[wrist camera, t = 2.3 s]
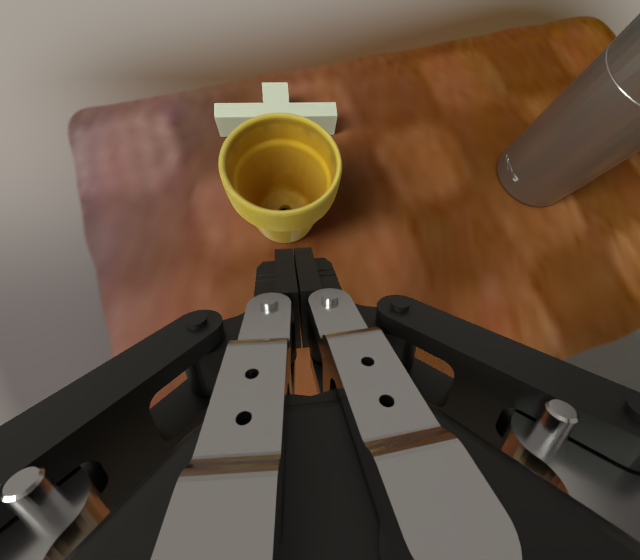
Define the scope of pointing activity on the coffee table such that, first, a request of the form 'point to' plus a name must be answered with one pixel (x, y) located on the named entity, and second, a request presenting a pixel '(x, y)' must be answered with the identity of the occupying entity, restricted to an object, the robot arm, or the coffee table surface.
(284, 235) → the plant pot
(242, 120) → the t stop
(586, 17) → the coffee table surface
